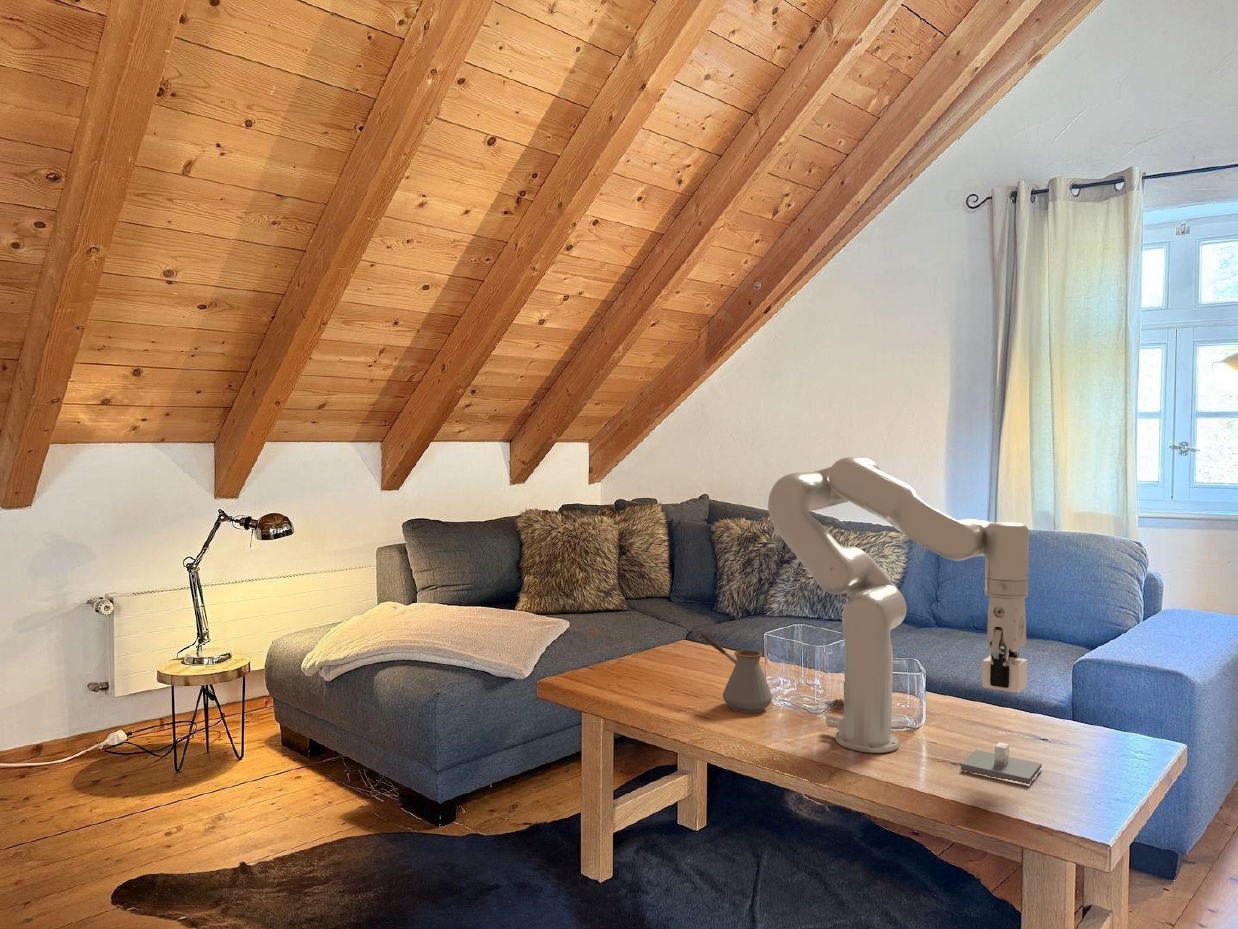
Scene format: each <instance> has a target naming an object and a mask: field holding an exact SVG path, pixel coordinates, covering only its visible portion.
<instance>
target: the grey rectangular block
mask: <svg viewBox="0 0 1238 929" xmlns="http://www.w3.org/2000/svg"><path fill="white" fill-rule="evenodd" d="M1009 752H1010V744H1009V743H1006V742H1000V741H999V742H998V743H997V744H995V746H994V753H995V760H994V765H998V766H1003V767H1005V766H1006V765H1007V764H1008V762H1009V757H1010V753H1009Z"/></svg>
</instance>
